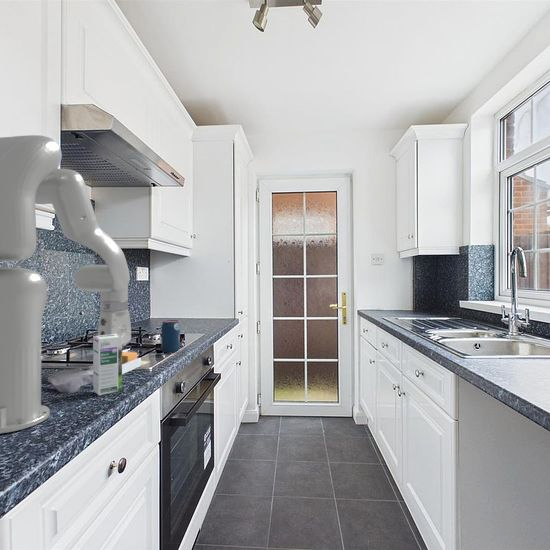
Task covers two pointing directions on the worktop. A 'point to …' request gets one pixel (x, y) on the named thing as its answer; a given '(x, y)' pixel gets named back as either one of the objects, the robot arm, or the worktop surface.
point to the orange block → (128, 357)
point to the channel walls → (127, 365)
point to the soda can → (170, 336)
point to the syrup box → (107, 363)
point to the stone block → (71, 380)
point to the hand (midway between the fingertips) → (114, 367)
